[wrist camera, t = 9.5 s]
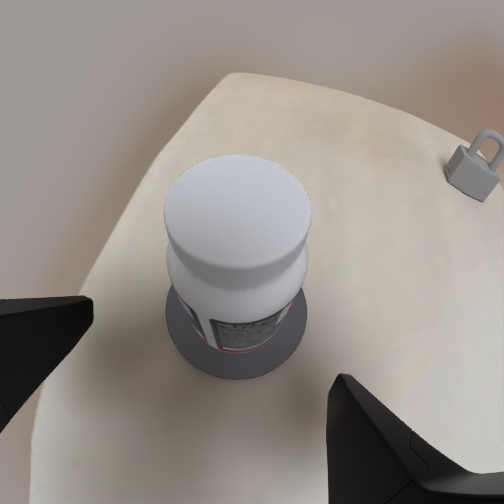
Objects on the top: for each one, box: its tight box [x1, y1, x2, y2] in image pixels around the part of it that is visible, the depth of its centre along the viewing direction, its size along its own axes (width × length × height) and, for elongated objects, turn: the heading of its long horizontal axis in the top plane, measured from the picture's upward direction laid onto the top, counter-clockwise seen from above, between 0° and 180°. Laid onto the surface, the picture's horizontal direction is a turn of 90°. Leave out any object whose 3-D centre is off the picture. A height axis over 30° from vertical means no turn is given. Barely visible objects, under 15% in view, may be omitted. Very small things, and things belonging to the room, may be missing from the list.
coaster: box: [166, 285, 307, 380], centre depth 17 cm, size 9×9×1 cm
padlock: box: [444, 129, 504, 202], centre depth 23 cm, size 7×4×10 cm, turn 71°
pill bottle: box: [164, 155, 312, 353], centre depth 12 cm, size 6×6×10 cm
